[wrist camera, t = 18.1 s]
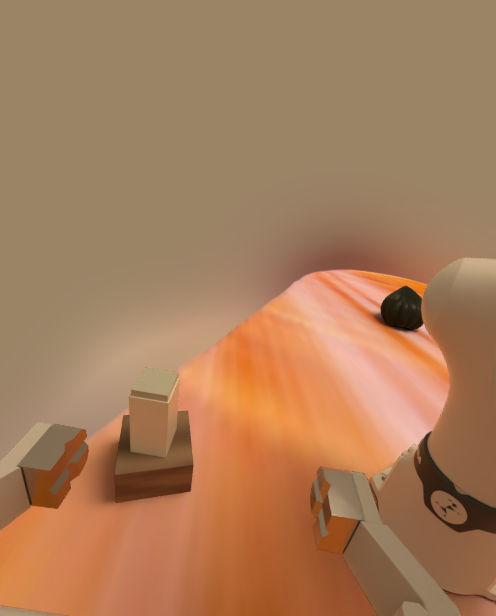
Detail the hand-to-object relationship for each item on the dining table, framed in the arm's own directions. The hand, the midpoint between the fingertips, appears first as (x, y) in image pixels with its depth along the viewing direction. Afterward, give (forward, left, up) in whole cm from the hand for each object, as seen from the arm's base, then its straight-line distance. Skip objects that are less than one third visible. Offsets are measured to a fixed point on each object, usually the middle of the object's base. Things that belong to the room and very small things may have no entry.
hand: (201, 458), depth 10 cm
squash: (-105, -31, -34) cm, 115 cm away
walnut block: (-9, -24, -34) cm, 43 cm away
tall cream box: (-9, -24, -28) cm, 38 cm away
